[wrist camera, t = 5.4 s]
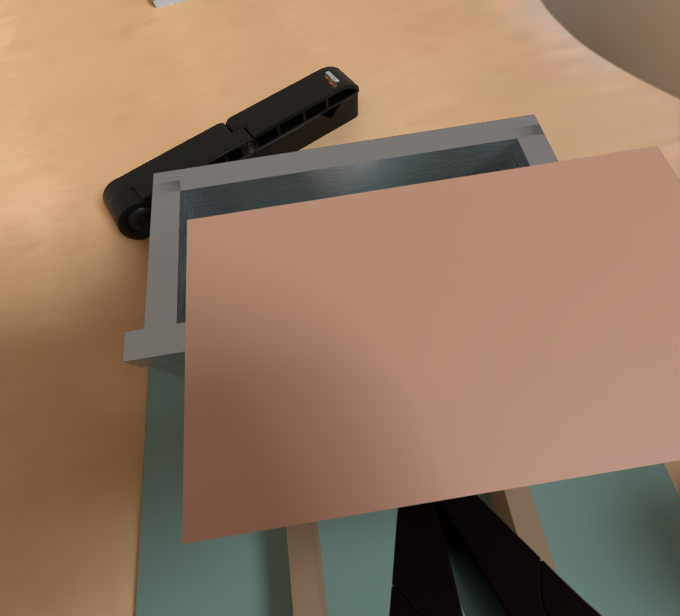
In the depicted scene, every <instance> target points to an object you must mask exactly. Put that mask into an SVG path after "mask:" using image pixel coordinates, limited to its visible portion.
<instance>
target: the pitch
mask: <svg viewBox="0 0 680 616" xmlns="http://www.w3.org/2000/svg"><path fill="white" fill-rule="evenodd" d="M184 394H185V378H183V377H180V376H177V375H174V374H171V373H167V372H164V371H161V370H158V369H155V368H151V367H149V373H148V391H147V410H146V428H145V446H144V464H143V482H142V501H141V519H140V537H139V555H138V573H137V592H136V610H135V616H389V610H390V598H391V588H392V574H393V561H394V548H395V534H396V521H397V508H393V509H387V510H382V511H376V512H370V513H364V514H358V515H352V516H346V517H340V518H334V519H328V520H322V521H316V522H310V523H304V524H298V525H293V526H287V527H281V528H275V529H269V530H263V531H257V532H251V533H245V534H239V535H233V536H227V537H221V538H215V539H209V540H204V541H198V542H192V543H186V544H182V524H183V459H184ZM477 495H478V496H479V497H480V498H481V499H482V500H483V501H484V502H485V503H486V504H487V505H488V506H489V507H490V508H491V509H492V510H493V511H494V512H495V513H496V514H497V515H498V516H499V517H500V518H501V519H502V520H503V521H504V522H505V523H506V524H507V525H508V526H509V527H510V528H511V529H512V530H513V531H514V532H515V533H516V534H517V535H518V536H519V537H520V538H521V539H522V540H523V541H524V542H525V543H526V544H527V545H528V546H529V547H530V548H531V549H532V550H533V551H534V552H535V553H536V554H537V555H538V556H539V557H540V558H541V561H545V562H546V563H547V564H548V565H549V566H550V567H551V568H552V569H553V570H554V571H555V572H556V573H557V574H558V575H559V576H560V577H561V578H562V579H563V580H564V581H565V582H566V583H567V584H568V585H569V586H570V587H571V588H572V589H573V590H574V591H575V592H576V593H577V594H579V595H580V596H581V597H582V598H583V599H584V600H585V601H586V602H587V603H588V604H589V605H591V606H592V607H593V608H594V609H595V610H596V611H597V612H599V613H600V614H601V615H602V616H680V499H679V496H678V494H677V492H676V490H675V488H674V485H673V483H672V481H671V479H670V477H669V475H668V472H667V470H666V468H665V466H664V464H663V463H660V464H654V465H648V466H643V467H637V468H631V469H625V470H619V471H613V472H607V473H601V474H595V475H589V476H583V477H577V478H571V479H565V480H559V481H554V482H548V483H542V484H536V485H530V486H524V487H518V488H512V489H506V490H500V491H494V492H488V493H482V494H477ZM460 605H461V604H460ZM461 609H462V607H461ZM462 613H463V616H465V614H464V612H463V609H462Z"/></svg>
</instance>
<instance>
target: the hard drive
mask: <svg viewBox="0 0 680 616" xmlns="http://www.w3.org/2000/svg"><path fill="white" fill-rule="evenodd" d="M182 1H186V0H153V2H154V4H155V6H156V8H160V7H163V6H167V5H171V4H175V3H178V2H182Z"/></svg>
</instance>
